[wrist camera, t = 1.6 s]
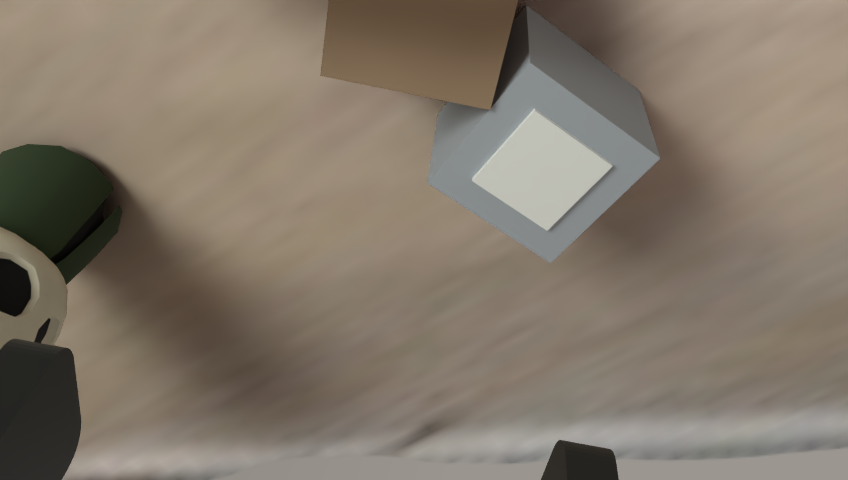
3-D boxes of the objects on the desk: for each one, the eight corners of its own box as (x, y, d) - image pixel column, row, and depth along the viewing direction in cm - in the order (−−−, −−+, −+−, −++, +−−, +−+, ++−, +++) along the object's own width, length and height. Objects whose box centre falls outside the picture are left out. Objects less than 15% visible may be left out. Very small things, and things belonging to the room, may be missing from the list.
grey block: (547, 188, 36) (553, 268, 32) (437, 113, 35) (426, 185, 30) (641, 91, 33) (664, 163, 29) (526, 4, 32) (530, 64, 27)
